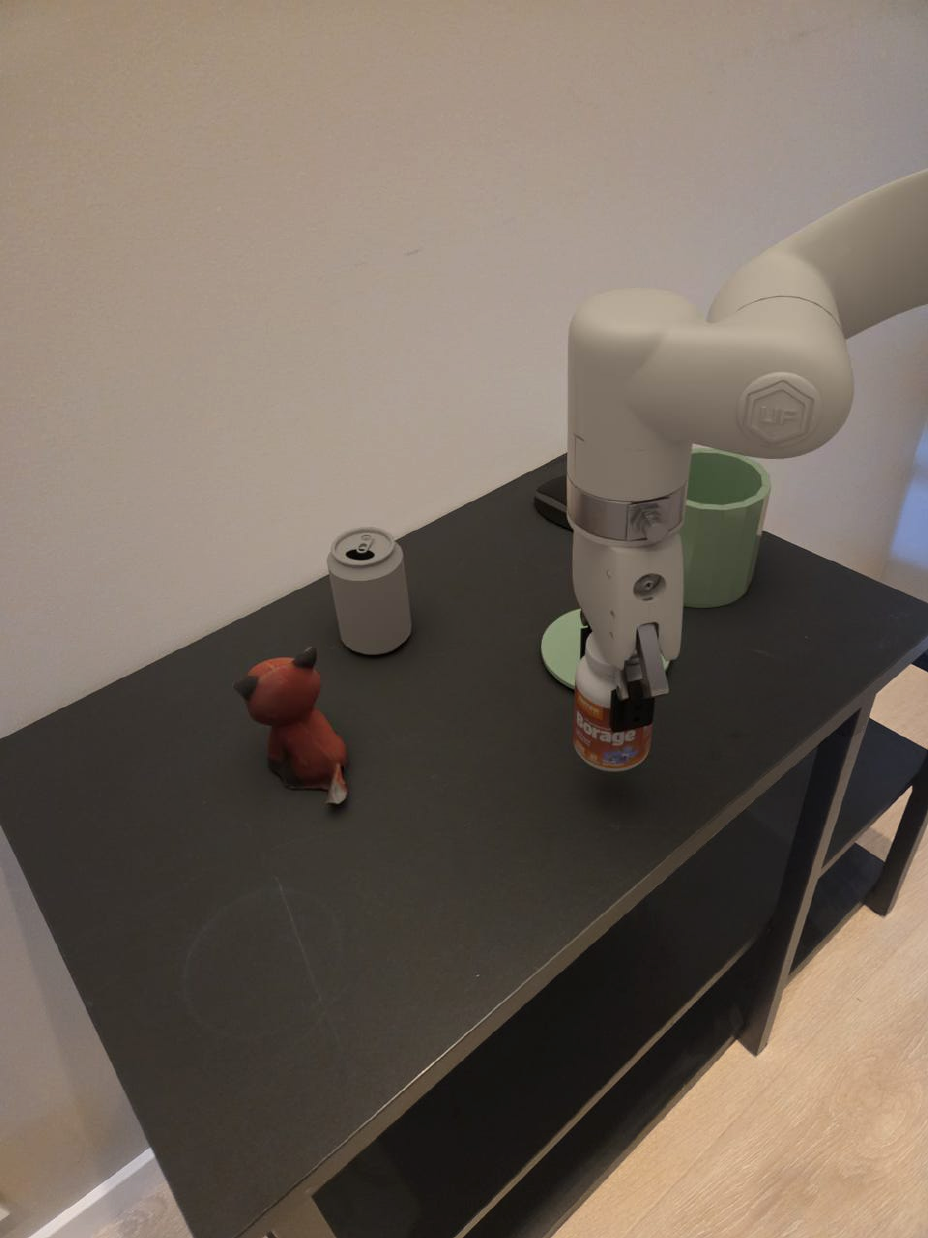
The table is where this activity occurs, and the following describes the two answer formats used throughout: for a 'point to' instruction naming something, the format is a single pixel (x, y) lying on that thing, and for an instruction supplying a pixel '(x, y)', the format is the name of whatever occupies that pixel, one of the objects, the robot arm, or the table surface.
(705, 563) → the pot
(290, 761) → the stuffed fox
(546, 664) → the lid
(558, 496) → the computer mouse
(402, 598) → the can
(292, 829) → the table surface
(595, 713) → the pill bottle
